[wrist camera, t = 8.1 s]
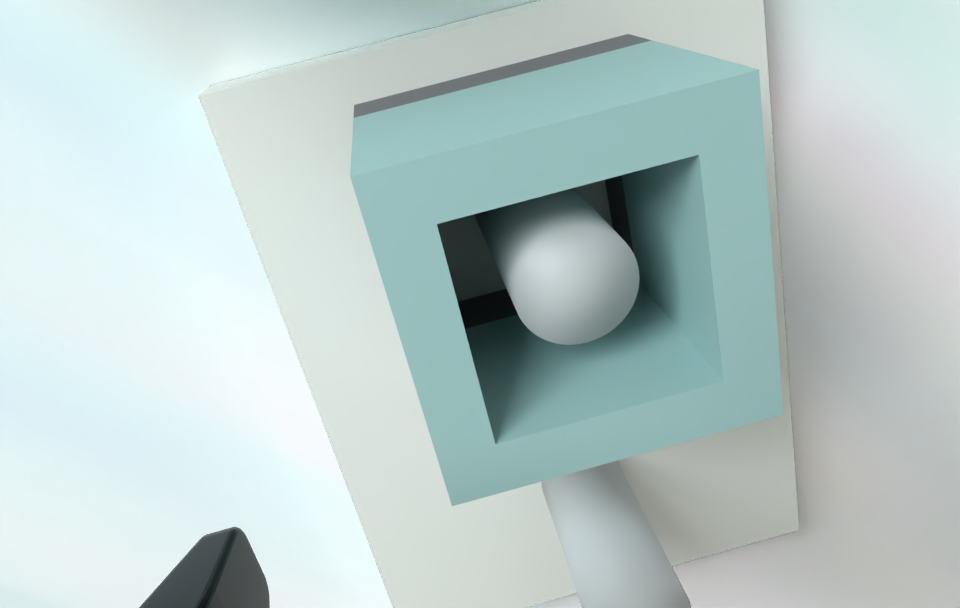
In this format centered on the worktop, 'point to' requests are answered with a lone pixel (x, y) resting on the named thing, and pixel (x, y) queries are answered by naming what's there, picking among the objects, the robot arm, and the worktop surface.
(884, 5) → the worktop surface
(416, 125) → the sleeve
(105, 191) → the worktop surface
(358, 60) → the pin board
